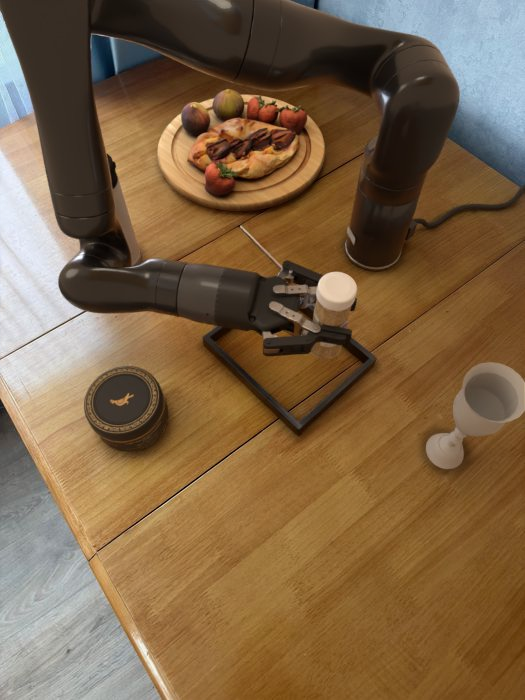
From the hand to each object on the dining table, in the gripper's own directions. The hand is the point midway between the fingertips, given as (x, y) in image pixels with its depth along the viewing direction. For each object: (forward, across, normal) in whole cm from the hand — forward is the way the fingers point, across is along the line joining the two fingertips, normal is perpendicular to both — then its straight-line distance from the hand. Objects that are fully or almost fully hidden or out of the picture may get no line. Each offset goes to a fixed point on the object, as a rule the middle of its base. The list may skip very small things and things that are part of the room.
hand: (352, 320), depth 66 cm
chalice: (+16, -9, +14) cm, 23 cm away
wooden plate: (-25, +44, +14) cm, 52 cm away
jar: (-27, -14, +14) cm, 33 cm away
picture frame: (-8, +1, +14) cm, 16 cm away
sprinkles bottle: (-3, 0, +7) cm, 8 cm away
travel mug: (-38, +14, +14) cm, 43 cm away
